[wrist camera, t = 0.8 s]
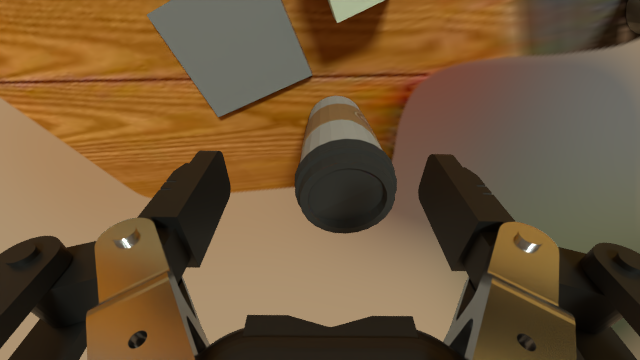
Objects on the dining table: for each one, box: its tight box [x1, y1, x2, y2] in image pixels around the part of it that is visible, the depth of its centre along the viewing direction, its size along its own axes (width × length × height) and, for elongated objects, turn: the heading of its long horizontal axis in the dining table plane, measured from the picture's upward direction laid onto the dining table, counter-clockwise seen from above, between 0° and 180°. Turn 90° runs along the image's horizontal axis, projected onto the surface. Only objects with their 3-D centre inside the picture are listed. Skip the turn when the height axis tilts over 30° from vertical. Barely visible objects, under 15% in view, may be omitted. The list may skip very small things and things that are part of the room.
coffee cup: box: [295, 96, 397, 233], centre depth 26 cm, size 8×8×15 cm
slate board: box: [147, 0, 312, 117], centre depth 26 cm, size 12×11×1 cm
